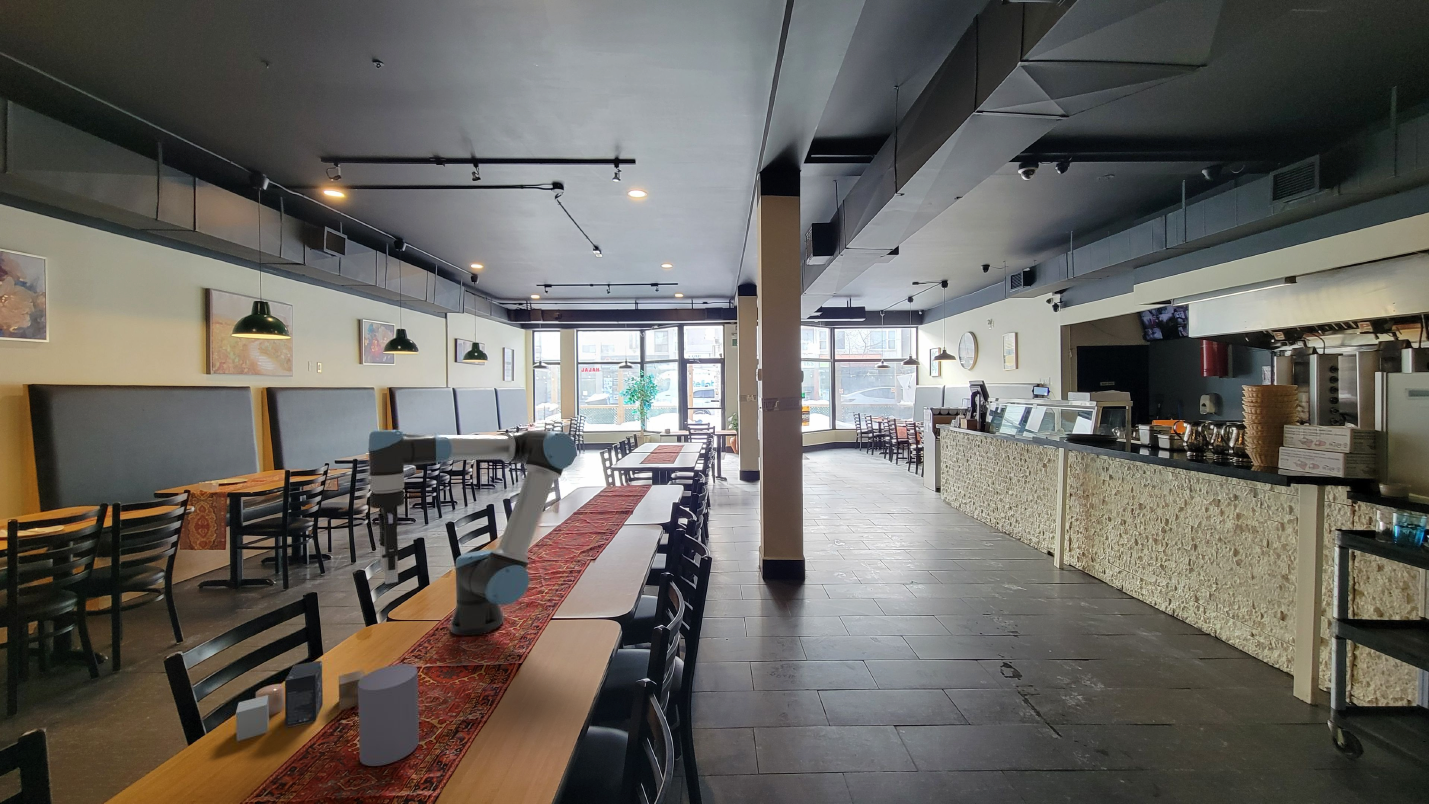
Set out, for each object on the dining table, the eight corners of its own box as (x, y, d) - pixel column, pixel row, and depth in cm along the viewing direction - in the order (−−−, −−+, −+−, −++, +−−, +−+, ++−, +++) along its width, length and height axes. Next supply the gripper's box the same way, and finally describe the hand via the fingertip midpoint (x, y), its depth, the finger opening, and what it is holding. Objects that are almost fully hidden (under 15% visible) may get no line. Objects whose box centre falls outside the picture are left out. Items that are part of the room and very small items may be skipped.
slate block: (268, 721, 122) (268, 694, 122) (267, 732, 118) (266, 704, 118) (239, 730, 119) (238, 702, 119) (236, 741, 115) (236, 712, 115)
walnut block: (364, 694, 133) (363, 669, 133) (365, 703, 129) (364, 677, 129) (339, 701, 130) (338, 675, 130) (339, 710, 126) (339, 684, 126)
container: (404, 765, 106) (402, 688, 106) (348, 769, 106) (346, 691, 105) (427, 733, 117) (426, 662, 117) (376, 736, 116) (375, 665, 116)
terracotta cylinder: (288, 704, 129) (288, 682, 129) (276, 716, 124) (275, 693, 124) (264, 706, 128) (264, 685, 128) (251, 718, 124) (250, 696, 123)
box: (316, 721, 122) (315, 673, 122) (284, 728, 119) (283, 680, 119) (323, 704, 129) (322, 659, 129) (293, 710, 127) (292, 664, 126)
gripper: (366, 486, 148) (368, 568, 148) (373, 498, 129) (375, 592, 129) (398, 483, 152) (400, 563, 152) (410, 494, 133) (412, 585, 133)
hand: (389, 576), depth 140 cm, fingers open, 11 cm apart
